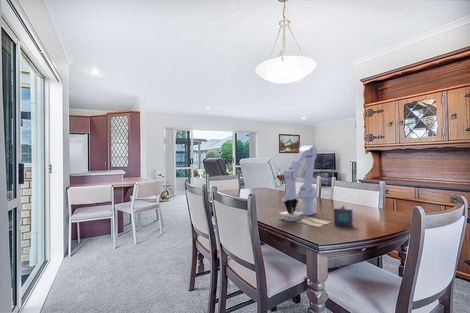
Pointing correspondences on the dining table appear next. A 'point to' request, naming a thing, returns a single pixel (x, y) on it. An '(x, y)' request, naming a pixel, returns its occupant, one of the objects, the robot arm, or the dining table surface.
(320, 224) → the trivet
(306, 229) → the dining table surface
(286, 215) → the cover
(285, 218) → the bowl
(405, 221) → the dining table surface
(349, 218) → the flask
